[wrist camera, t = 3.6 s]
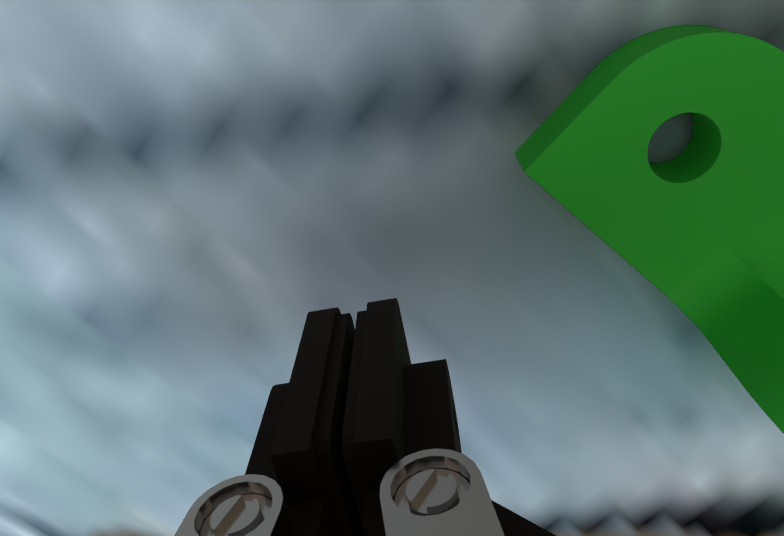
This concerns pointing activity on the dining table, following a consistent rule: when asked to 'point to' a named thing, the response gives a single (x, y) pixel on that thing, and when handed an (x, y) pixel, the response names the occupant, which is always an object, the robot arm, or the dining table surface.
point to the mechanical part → (686, 184)
